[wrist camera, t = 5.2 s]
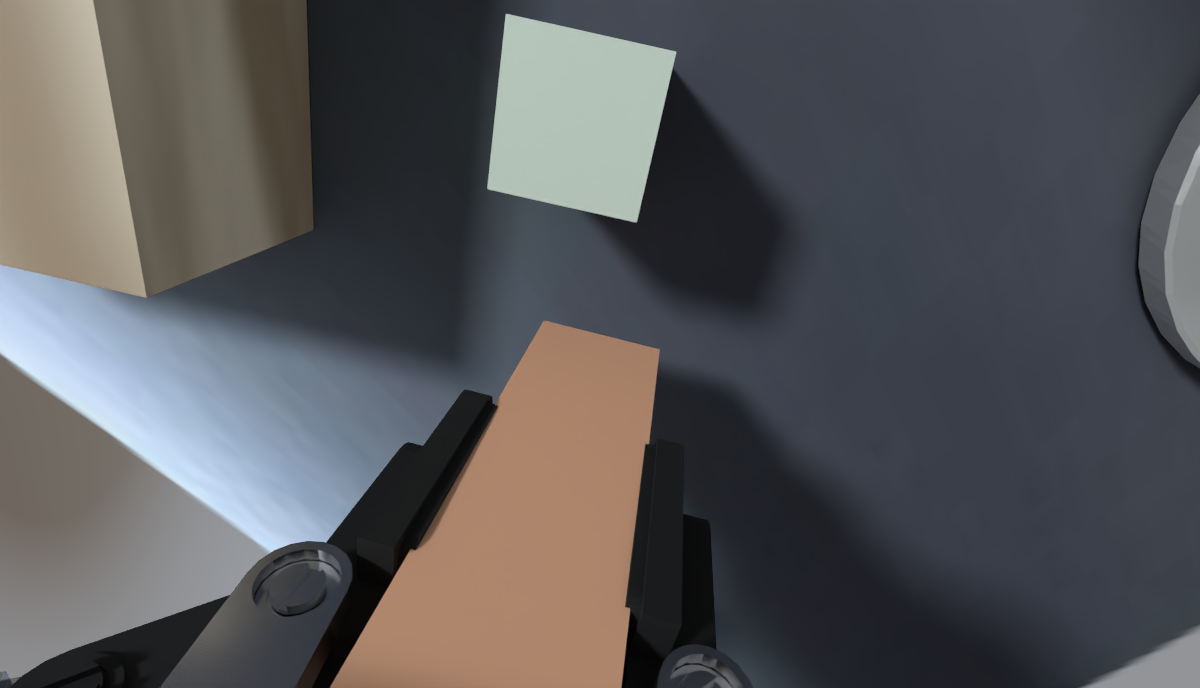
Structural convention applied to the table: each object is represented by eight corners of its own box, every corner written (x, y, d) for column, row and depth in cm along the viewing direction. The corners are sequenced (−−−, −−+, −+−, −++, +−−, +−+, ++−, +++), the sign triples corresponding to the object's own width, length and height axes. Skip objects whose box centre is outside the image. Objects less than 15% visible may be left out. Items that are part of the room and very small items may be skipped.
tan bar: (659, 349, 14) (544, 1361, 3) (632, 442, 15) (491, 1348, 4) (543, 320, 14) (34, 1193, 3) (528, 415, 15) (142, 1234, 4)
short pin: (670, 64, 14) (676, 51, 9) (642, 183, 15) (636, 222, 11) (555, 39, 14) (505, 13, 9) (538, 159, 15) (487, 189, 11)
